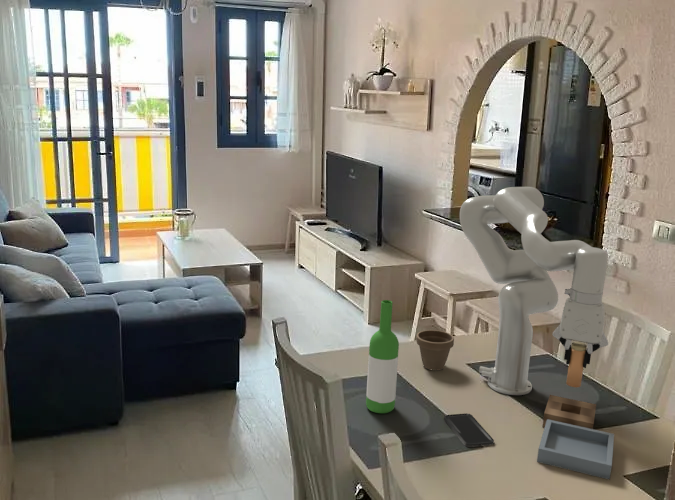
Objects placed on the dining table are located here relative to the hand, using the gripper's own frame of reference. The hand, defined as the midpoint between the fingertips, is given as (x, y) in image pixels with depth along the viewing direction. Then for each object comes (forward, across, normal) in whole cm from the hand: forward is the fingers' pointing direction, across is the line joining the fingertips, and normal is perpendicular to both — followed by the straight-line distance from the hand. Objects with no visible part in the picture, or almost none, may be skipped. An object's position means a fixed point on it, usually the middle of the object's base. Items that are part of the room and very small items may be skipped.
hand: (576, 363), depth 177 cm
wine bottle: (+17, -47, -16) cm, 52 cm away
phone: (+17, -23, -17) cm, 33 cm away
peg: (+6, 0, 0) cm, 6 cm away
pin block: (+17, 0, 0) cm, 17 cm away
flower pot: (+17, -42, +18) cm, 49 cm away
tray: (+17, +3, -16) cm, 23 cm away
